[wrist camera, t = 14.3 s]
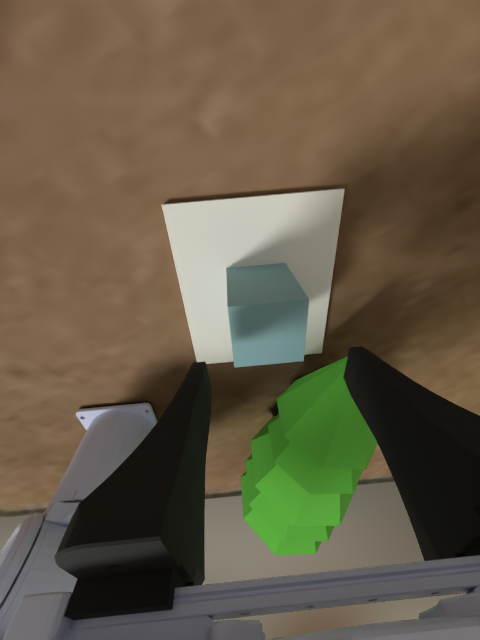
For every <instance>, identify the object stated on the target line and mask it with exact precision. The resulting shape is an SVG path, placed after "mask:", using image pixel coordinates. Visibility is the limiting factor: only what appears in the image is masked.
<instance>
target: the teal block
mask: <svg viewBox="0 0 480 640" xmlns="http://www.w3.org/2000/svg"><path fill="white" fill-rule="evenodd" d="M226 277H227V307H228V316H229V325H230V334H231V342H232V351H233V360H234V368H236V367H246V366H257V365H268V364H278V363H289V362H299V361H304V351H305V341H306V330H307V319H308V308H309V298H308V297H307V295H306V294H305V292H304V291H303V289H302V287H301V286H300V284H299V283H298V281H297V280H296V278H295V277H294V275H293V274H292V272H291V271H290V269H289V267H288V266H287V264H286V263H278V264H267V265H256V266H244V267H233V268H226Z"/></svg>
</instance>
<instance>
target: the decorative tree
mask: <svg viewBox="0 0 480 640" xmlns="http://www.w3.org/2000/svg"><path fill="white" fill-rule="evenodd" d="M347 358H348V356H347V357H345V358H342V359H340V360H338V361H336V362H334V363H332V364H329V365H327V366H325V367H323V368H321V369H319V370H316V371H314V372H312V373H310V374H308V375H306V376H303V377H301V378H299V379H297V380H295V381H294V382H293V383H292V384H291V385H290V386H289V387H288V388H287V389H286V390H285V391H284V392H283V393H282V394H281V395H280V396H279V397H278V398H277V399H276V401H277V406H278V411H279V413H278V415H277V416H273V417H272V419H271V420H270V421H269V422H268V423H267V424H266V425H265V426H264V427H263V428H262V429H261V430H260V431H259V433H258V434H257V435H256V436H255V437H254V438H253V439H252V440H251V448H252V454H251V456H250V457H249V458H248V459H247V460H246V472H245V473H244V474H243V475H242V476H241V483H242V499H243V517H244V520H245V521H246V522H247V523H248V525H249V526H250V527H251V528H252V529H253V530H254V531H255V533H256V534H257V535H258V536H259V537H260V538H261V539H262V540H263V542H264V543H265V544H266V545H267V546H268V547H269V548H270V550H271V551H272V552H273V553H274V554H275V555H291V554H316V552H317V550H318V548H319V546H320V543H321V541H328V539H329V537H330V535H331V532H332V530H333V528H334V526H340V524H341V522H342V519H343V517H344V515H345V512H346V510H347V508H348V505H349V503H350V501H351V498H352V496H353V494H354V491H355V489H356V487H357V483H358V480H359V478H360V476H361V473H362V471H363V469H366V468H367V466H368V464H369V461H370V459H371V457H372V455H373V452H374V450H375V448H376V445H377V441H376V439H375V437H374V435H373V434H372V432H371V430H370V428H369V427H368V425H367V423H366V422H365V420H364V418H363V416H362V415H361V413H360V411H359V409H358V408H357V406H356V404H355V402H354V400H353V399H352V397H351V395H350V392H349V390H348V388H347V385H346V383H345V380H344V378H343V377H344V372H345V367H346V363H347Z"/></svg>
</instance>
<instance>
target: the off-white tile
mask: <svg viewBox="0 0 480 640" xmlns="http://www.w3.org/2000/svg"><path fill="white" fill-rule="evenodd" d="M344 190H345V189H342V188H338V189H326V190H315V191H304V192H292V193H281V194H269V195H258V196H247V197H235V198H224V199H212V200H201V201H189V202H178V203H167V204H162V208H163V213H164V217H165V222H166V226H167V231H168V235H169V240H170V244H171V249H172V253H173V258H174V262H175V267H176V271H177V275H178V280H179V284H180V289H181V293H182V298H183V302H184V307H185V311H186V316H187V320H188V325H189V329H190V334H191V338H192V343H193V347H194V351H195V356H196V360H197V362H205V361H206V364H212V363H223V362H233V361H234V360H233V351H232V342H231V334H230V325H229V316H228V307H227V277H226V268H233V267H244V266H256V265H267V264H278V263H286V264H287V266H288V267H289V269H290V271H291V272H292V274H293V275H294V277H295V278H296V280H297V281H298V283H299V284H300V286H301V287H302V289H303V291H304V292H305V294H306V295H307V297H308V298H309V308H308V319H307V330H306V341H305V351H304V355H307V354H317V353H322V348H323V340H324V333H325V326H326V319H327V312H328V305H329V298H330V290H331V283H332V276H333V269H334V262H335V255H336V248H337V240H338V233H339V226H340V219H341V212H342V205H343V198H344Z"/></svg>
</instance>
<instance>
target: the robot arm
mask: <svg viewBox="0 0 480 640" xmlns="http://www.w3.org/2000/svg"><path fill="white" fill-rule="evenodd" d="M343 378H344V380H345V383H346V385H347V388H348V390H349V392H350V395H351V397H352V399H353V400H354V402H355V404H356V406H357V408H358V409H359V411H360V413H361V415H362V416H363V418H364V420H365V422H366V423H367V425H368V427H369V428H370V430H371V432H372V434H373V435H374V437H375V439H376V441H377V443H378V445H379V447H380V449H381V451H382V453H383V455H384V458H385V460H386V462H387V464H388V466H389V469H390V471H391V473H392V476H393V478H394V481H395V483H396V485H397V487H398V490H399V492H400V495H401V497H402V500H403V503H404V505H405V508H406V510H407V513H408V515H409V518H410V521H411V523H412V526H413V529H414V532H415V534H416V537H417V540H418V543H419V545H420V549H421V552H422V555H423V557H424V560H425V561H423V562H413V563H404V564H393V565H384V566H375V567H366V568H356V569H347V570H337V571H328V572H319V573H309V574H300V575H291V576H281V577H272V578H262V579H253V580H244V581H235V582H225V583H216V584H206V585H202V583H203V582H204V579H205V576H204V507H205V463H206V451H207V442H208V434H209V425H210V416H211V386H210V381H209V376H208V371H207V366H206V361H205V362H195V363H193V364H192V365H191V367H190V369H189V371H188V373H187V375H186V377H185V379H184V381H183V383H182V385H181V386H180V388H179V390H178V392H177V393H176V395H175V397H174V398H173V400H172V401H171V403H170V404H169V406H168V408H167V409H166V411H165V412H164V414H163V415H162V416H161V418H160V419H159V421H157V418H156V416H155V414H154V411H153V409H152V406H151V405H150V404H149V403H138V404H128V405H118V406H107V407H97V408H87V409H79V410H77V412H76V416H77V417H78V419H79V420H80V422H81V423H82V424H83V426H84V427H85V429H86V430H87V431H86V433H85V435H84V437H83V439H82V441H81V443H80V445H79V447H78V449H77V451H76V453H75V455H74V457H73V459H72V461H71V462H70V464H69V466H68V468H67V470H66V472H65V474H64V476H63V478H62V480H61V482H60V484H59V486H58V488H57V490H56V492H55V494H54V496H53V497H52V499H51V501H50V503H49V505H48V507H47V509H46V510H45V512H44V513H43V514H40V513H34V514H33V515H31V517H29V518H27V519H25V520H23V521H22V522H21V523H20V524H19V525H18V526H17V528H16V529H15V531H14V532H13V533H12V535H11V536H10V538H9V540H8V541H7V542H6V544H5V546H4V547H3V549H2V550H1V552H0V640H265V634H264V633H263V631H262V624H261V623H260V621H255V620H223V621H217V622H213V621H212V620H219V619H228V618H238V617H247V616H256V615H265V614H275V613H284V612H293V611H302V610H311V609H321V608H330V607H338V606H348V605H357V604H367V603H376V602H385V601H393V600H403V599H413V598H422V597H430V596H440V595H450V594H459V593H466V594H464V595H460V596H455V597H451V598H446V599H442V600H439V602H438V604H437V605H436V606H434V607H433V608H431V609H429V610H426V611H424V612H422V613H420V614H419V619H413V620H402V621H393V622H383V623H374V624H366V625H359V626H352V627H344V628H338V629H331V630H324V631H317V632H311V633H305V634H299V635H293V636H287V637H280V638H274V639H268V640H480V416H479V415H477V414H474V413H472V412H470V411H468V410H466V409H464V408H462V407H460V406H458V405H456V404H454V403H452V402H450V401H448V400H446V399H444V398H442V397H441V396H439V395H437V394H435V393H433V392H431V391H430V390H428V389H426V388H425V387H423V386H421V385H420V384H418V383H416V382H415V381H413V380H411V379H410V378H408V377H407V376H405V375H404V374H402V373H400V372H399V371H397V370H396V369H394V368H393V367H392V366H390V365H389V364H387V363H386V362H384V361H383V360H381V359H380V358H378V357H377V356H375V355H374V354H373V353H371V352H370V351H368V350H367V349H365V348H363V347H352V348H350V349H349V354H348V358H347V363H346V367H345V372H344V377H343Z"/></svg>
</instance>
